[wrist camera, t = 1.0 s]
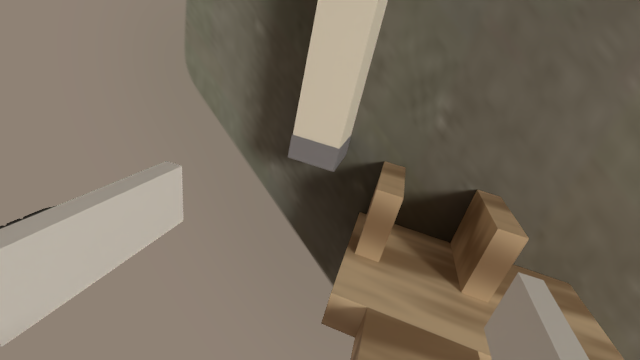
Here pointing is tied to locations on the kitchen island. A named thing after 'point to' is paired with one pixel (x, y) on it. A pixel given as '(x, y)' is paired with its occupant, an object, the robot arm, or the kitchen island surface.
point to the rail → (334, 79)
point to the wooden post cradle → (437, 283)
